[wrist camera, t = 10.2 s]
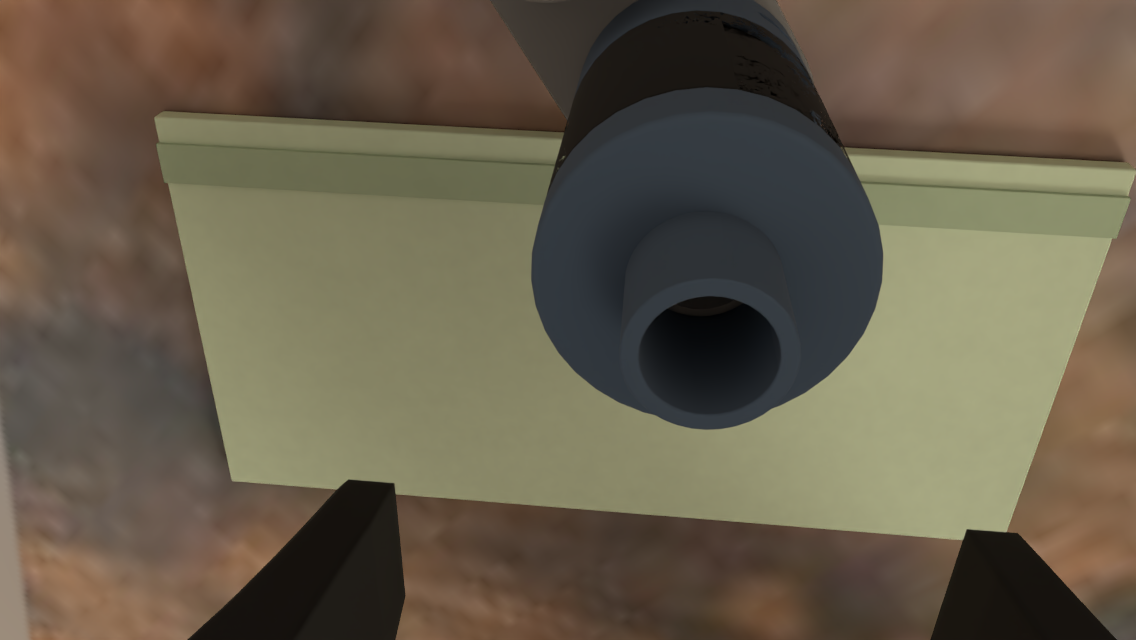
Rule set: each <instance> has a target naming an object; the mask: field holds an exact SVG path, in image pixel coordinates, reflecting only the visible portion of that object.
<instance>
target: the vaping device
mask: <svg viewBox="0 0 1136 640" xmlns="http://www.w3.org/2000/svg"><path fill="white" fill-rule="evenodd" d="M490 1H491V2H492V4H493V5H494V7H495V9H496V10H497V12H498V13H499V15H500V16H501V18H502V19H503V21H504V23H505V24H506V26H507V27H508V29H509V30H510V32H511V33H512V35H513V37H514V38H515V40H516V41H517V43H518V44H519V46H520V47H521V49H522V51H523V52H524V54H525V55H526V57H527V58H528V60H529V62H530V63H531V65H532V66H533V68H534V69H535V71H536V72H537V74H538V76H539V77H540V79H541V80H542V82H543V83H544V85H545V86H546V88H547V90H548V91H549V93H550V94H551V96H552V97H553V99H554V100H555V102H556V104H557V105H558V107H559V108H560V110H561V111H562V113H563V114H564V116H565V118H566V119H567V124H566V128H565V131H564V135H563V138H562V142H561V146H560V149H559V153H558V156H557V160H556V163H555V167H554V170H553V174H552V177H551V181H550V184H549V188H548V191H549V192H547V196H546V199H545V202H544V206H543V209H542V213H541V216H540V220H539V223H538V227H537V232H536V236H535V241H534V245H533V249H532V264H531V282H532V288H533V294H534V300H535V306H536V308H537V311H538V314H539V316H540V319H541V322H542V324H543V327H544V330H545V332H546V333H547V335H548V337H549V338H550V340H551V342H552V343H553V345H554V346H555V348H556V350H557V351H558V353H559V354H560V355H561V356H562V358H563V359H564V360H565V361H566V362H567V363H568V364H569V366H570V367H571V368H572V369H573V370H574V371H575V372H576V373H577V374H578V375H579V376H581V377H582V378H583V379H584V380H585V381H587V382H588V383H589V384H590V385H592V386H593V387H594V388H595V389H597V390H598V391H600V392H602V393H603V394H605V395H607V396H609V397H610V398H612V399H614V400H615V401H617V402H619V403H621V404H624V405H626V406H629V407H631V408H634V409H636V410H639V411H641V412H644V413H648V414H652V415H656V416H658V417H659V418H661V419H663V420H665V421H668V422H670V423H673V424H675V425H678V426H683V427H687V428H691V429H702V430H714V429H725V428H730V427H735V426H738V425H741V424H744V423H747V422H750V421H752V420H754V419H756V418H758V417H760V416H762V415H764V414H765V413H766V412H768V411H769V410H770V409H772V408H775V407H778V406H781V405H783V404H785V403H786V402H788V401H790V400H792V399H794V398H796V397H798V396H800V395H802V394H804V393H806V392H807V391H808V390H810V389H811V388H813V387H814V386H815V385H817V384H818V383H820V382H821V381H822V380H824V379H825V378H826V377H828V376H829V375H830V374H831V373H832V372H833V371H834V370H835V369H836V368H837V367H838V366H839V365H840V364H841V363H842V362H843V361H844V360H845V359H846V358H847V357H848V355H849V354H850V353H851V351H852V350H853V348H854V347H855V346H856V344H857V343H858V341H859V340H860V338H861V337H862V336H863V334H864V332H865V330H866V328H867V326H868V324H869V322H870V319H871V317H872V315H873V313H874V311H875V308H876V304H877V300H878V296H879V292H880V288H881V284H882V275H883V248H882V242H881V235H880V229H879V224H878V222H877V219H876V217H875V214H874V212H873V209H872V206H871V204H870V201H869V199H868V196H867V194H866V192H865V190H864V188H863V186H862V184H861V182H860V180H859V178H858V175H857V173H856V171H855V170H854V167H853V165H852V163H851V161H850V159H849V157H848V155H847V152H846V150H845V148H844V147H843V145H842V143H841V142H840V141H841V140H839V139H840V138H839V139H838V137H839V136H838V134H837V132H836V129H835V127H834V125H833V123H832V121H831V119H829V118H830V117H829V115H828V113H827V111H826V108H825V106H824V104H823V102H822V100H821V98H820V96H819V94H817V93H816V92H817V90H815V88H816V87H815V86H814V82H813V76H812V74H811V71H810V68H809V65H808V63H807V60H806V58H805V56H804V54H803V52H802V50H801V48H800V46H799V44H798V42H797V40H796V38H795V36H794V34H793V33H792V31H791V29H790V27H789V25H788V23H787V21H786V19H785V17H784V15H783V13H782V11H781V9H780V7H779V5H778V3H777V1H776V0H490ZM820 100H821V101H820ZM820 102H821V103H820ZM824 110H825V111H824ZM821 112H822V113H821ZM825 115H826V116H825ZM821 120H823V123H822V122H821ZM568 122H569V123H568ZM821 123H822V124H823V125H822V124H821ZM825 123H826V124H825ZM831 124H832V125H831ZM567 125H568V126H567ZM821 125H822V126H821ZM829 127H830V128H829ZM824 128H825V129H824ZM827 132H828V134H827ZM830 132H831V133H830ZM829 134H831V135H830V136H829ZM831 136H832V137H831ZM837 136H838V137H837ZM839 144H840V145H839ZM841 145H842V146H841ZM840 146H841V147H842V148H841V147H840ZM564 148H565V149H564ZM842 150H844V151H845V152H844V151H842ZM845 154H846V156H847V157H846V156H845ZM563 156H565V157H563ZM562 158H563V159H564V160H563V159H562ZM557 168H558V169H557Z"/></svg>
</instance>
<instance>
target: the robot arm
mask: <svg viewBox="0 0 1136 640" xmlns="http://www.w3.org/2000/svg"><path fill="white" fill-rule="evenodd" d="M404 599H405V587H404V577H403V567H402V556H401V546H400V536H399V525H398V515H397V505H396V494H395V484H394V483H387V482H374V481H362V480H349V479H348V480H347V481H346V482H345V483H343V484H342V485H341V486H340V487H339V488H338V489H337V490H336V491H335V492H334V493H333V495H332V496H331V497H330V498H329V499H328V500H327V501H326V502H325V503H324V504H323V505H322V507H321V508H320V509H319V510H318V511H317V512H316V513H315V514H314V515H313V516H312V517H311V519H310V520H309V521H308V522H307V523H306V524H305V525H304V526H303V527H302V528H301V529H300V530H299V531H298V532H297V534H296V535H295V536H294V537H293V538H292V539H291V540H290V541H289V542H288V543H287V544H286V545H285V546H284V547H283V548H282V549H281V550H280V551H279V552H278V553H277V554H276V556H275V557H274V558H273V559H272V560H271V561H270V562H269V563H268V564H267V565H266V566H265V567H264V568H263V569H262V570H261V571H260V572H259V573H258V574H257V575H256V576H255V577H254V578H253V579H252V580H251V581H250V582H249V583H248V584H247V585H246V586H245V587H244V588H243V589H242V590H241V591H240V592H239V593H238V594H237V595H235V596H234V597H233V598H232V599H231V600H230V601H229V602H228V603H227V604H226V605H225V606H224V607H223V608H222V609H221V610H220V611H218V612H217V613H216V614H215V615H214V616H213V617H212V618H211V619H210V620H209V621H208V622H206V623H205V624H204V625H203V626H202V627H201V628H200V629H199V630H198V631H197V632H195V633H194V634H193V635H192V636H191V637H190V638H189V639H188V640H395V638H396V634H397V630H398V626H399V621H400V617H401V612H402V608H403V604H404ZM931 640H1117V639H1116V638H1115V637H1114V636H1113V635H1112V634H1111V633H1110V632H1109V631H1108V630H1107V629H1106V628H1105V627H1104V626H1103V625H1102V624H1101V622H1100V621H1099V620H1098V619H1097V618H1096V617H1095V616H1094V615H1093V614H1092V613H1091V612H1090V611H1089V610H1088V608H1087V607H1086V606H1085V605H1084V604H1083V603H1082V602H1081V601H1080V600H1079V599H1078V598H1077V597H1076V596H1075V594H1074V593H1073V592H1072V591H1071V590H1070V589H1069V588H1068V587H1067V586H1066V585H1065V584H1064V582H1063V581H1062V580H1061V579H1060V578H1059V577H1058V576H1057V575H1056V574H1055V573H1054V572H1053V570H1052V569H1051V568H1050V567H1049V566H1048V565H1047V564H1046V563H1045V562H1044V561H1043V560H1042V558H1041V557H1040V556H1039V555H1038V554H1037V553H1036V552H1035V551H1034V550H1033V549H1032V548H1031V547H1030V546H1029V545H1028V544H1027V542H1026V541H1025V540H1024V539H1023V538H1022V537H1021V536H1020V535H1019V534H1018V533H1009V532H996V531H984V530H971V529H967V530H966V533H965V536H964V539H963V542H962V545H961V548H960V551H959V554H958V557H957V560H956V563H955V566H954V570H953V573H952V576H951V579H950V582H949V585H948V588H947V591H946V594H945V597H944V600H943V603H942V606H941V609H940V612H939V615H938V618H937V621H936V624H935V628H934V631H933V634H932V637H931Z"/></svg>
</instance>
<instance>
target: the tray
mask: <svg viewBox="0 0 1136 640" xmlns="http://www.w3.org/2000/svg"><path fill="white" fill-rule="evenodd" d="M154 120H155V125H156V130H157V134H158V139H159V142H158V143H157V144H156V147H157V151H158V156H159V161H160V165H161V170H162V175H163V179H164V183H168V186H169V190H170V195H171V200H172V204H173V209H174V214H175V218H176V223H177V228H178V232H179V237H180V242H181V246H182V251H183V256H184V260H185V265H186V270H187V274H188V279H189V284H190V288H191V293H192V298H193V302H194V307H195V312H196V316H197V321H198V326H199V330H200V335H201V340H202V344H203V349H204V354H205V358H206V363H207V368H208V372H209V377H210V382H211V386H212V391H213V396H214V400H215V405H216V410H217V414H218V419H219V424H220V428H221V433H222V438H223V442H224V447H225V452H226V456H227V461H228V466H229V470H230V475H231V480H232V481H239V482H251V483H263V484H276V485H288V486H301V487H313V488H325V489H338V488H339V487H340V486H341V485H342V484H343V483H345V482H346V481H347V480H348V479H349V480H362V481H374V482H387V483H394V484H395V494H399V495H412V496H424V497H436V498H449V499H461V500H473V501H486V502H498V503H511V504H523V505H535V506H548V507H560V508H572V509H585V510H597V511H609V512H622V513H634V514H646V515H659V516H671V517H683V518H696V519H708V520H721V521H733V522H745V523H758V524H770V525H782V526H795V527H807V528H819V529H832V530H844V531H856V532H869V533H881V534H894V535H906V536H918V537H931V538H943V539H955V540H963V539H964V536H965V533H966V530H967V529H971V530H984V531H996V532H1007V529H1008V526H1009V523H1010V521H1011V518H1012V515H1013V512H1014V509H1015V507H1016V504H1017V501H1018V498H1019V496H1020V493H1021V490H1022V487H1023V485H1024V482H1025V479H1026V476H1027V473H1028V471H1029V468H1030V465H1031V462H1032V460H1033V457H1034V454H1035V451H1036V448H1037V446H1038V443H1039V440H1040V437H1041V435H1042V432H1043V429H1044V426H1045V424H1046V421H1047V418H1048V415H1049V412H1050V410H1051V407H1052V404H1053V401H1054V399H1055V396H1056V393H1057V390H1058V388H1059V385H1060V382H1061V379H1062V376H1063V374H1064V371H1065V368H1066V365H1067V363H1068V360H1069V357H1070V354H1071V352H1072V349H1073V346H1074V343H1075V340H1076V338H1077V335H1078V332H1079V329H1080V327H1081V324H1082V321H1083V318H1084V316H1085V313H1086V310H1087V307H1088V304H1089V302H1090V299H1091V296H1092V293H1093V291H1094V288H1095V285H1096V282H1097V280H1098V277H1099V274H1100V271H1101V268H1102V266H1103V263H1104V260H1105V257H1106V255H1107V252H1108V249H1109V246H1110V243H1111V241H1112V238H1113V239H1116V238H1117V235H1118V233H1119V230H1120V227H1121V224H1122V222H1123V219H1124V216H1125V213H1126V211H1127V208H1128V205H1129V202H1130V200H1131V198H1130V197H1129V196H1128V194H1129V191H1130V188H1131V185H1132V183H1133V180H1134V177H1135V174H1136V169H1135V168H1134V167H1132V166H1131V165H1130V164H1129V163H1127V162H1109V161H1090V160H1071V159H1052V158H1033V157H1015V156H996V155H977V154H958V153H940V152H921V151H902V150H883V149H864V148H846V147H844V148H845V150H846V152H847V155H848V157H849V159H850V161H851V163H852V165H853V167H854V170H855V171H856V173H857V175H858V178H859V180H860V182H861V184H862V186H863V188H864V190H865V192H866V194H867V196H868V199H869V201H870V204H871V206H872V209H873V212H874V214H875V217H876V219H877V222H878V224H879V229H880V235H881V242H882V248H883V275H882V284H881V288H880V292H879V296H878V300H877V304H876V308H875V311H874V313H873V315H872V317H871V319H870V322H869V324H868V326H867V328H866V330H865V332H864V334H863V336H862V337H861V338H860V340H859V341H858V343H857V344H856V346H855V347H854V348H853V350H852V351H851V353H850V354H849V355H848V357H847V358H846V359H845V360H844V361H843V362H842V363H841V364H840V365H839V366H838V367H837V368H836V369H835V370H834V371H833V372H832V373H831V374H830V375H829V376H828V377H826V378H825V379H824V380H822V381H821V382H820V383H818V384H817V385H815V386H814V387H813V388H811V389H810V390H808V391H807V392H806V393H804V394H802V395H800V396H798V397H796V398H794V399H792V400H790V401H788V402H786V403H785V404H783V405H781V406H778V407H775V408H772V409H770V410H769V411H768V412H766V413H765V414H764V415H762V416H760V417H758V418H756V419H754V420H752V421H750V422H747V423H744V424H741V425H738V426H735V427H730V428H725V429H714V430H702V429H691V428H687V427H683V426H678V425H675V424H673V423H670V422H668V421H665V420H663V419H661V418H659V417H658V416H656V415H652V414H648V413H644V412H641V411H639V410H636V409H634V408H631V407H629V406H626V405H624V404H621V403H619V402H617V401H615V400H614V399H612V398H610V397H609V396H607V395H605V394H603V393H602V392H600V391H598V390H597V389H595V388H594V387H593V386H592V385H590V384H589V383H588V382H587V381H585V380H584V379H583V378H582V377H581V376H579V375H578V374H577V373H576V372H575V371H574V370H573V369H572V368H571V367H570V366H569V364H568V363H567V362H566V361H565V360H564V359H563V358H562V356H561V355H560V354H559V353H558V351H557V350H556V348H555V346H554V345H553V343H552V342H551V340H550V338H549V337H548V335H547V333H546V332H545V330H544V327H543V324H542V322H541V319H540V316H539V314H538V311H537V308H536V306H535V300H534V294H533V288H532V282H531V264H532V249H533V245H534V241H535V236H536V232H537V227H538V223H539V220H540V216H541V213H542V209H543V206H544V202H545V199H546V196H547V192H549V191H548V188H549V184H550V181H551V177H552V174H553V170H554V167H555V163H556V160H557V156H558V153H559V149H560V146H561V142H562V138H563V135H564V132H545V131H526V130H508V129H489V128H470V127H451V126H433V125H414V124H395V123H376V122H357V121H339V120H320V119H301V118H282V117H264V116H245V115H226V114H207V113H188V112H170V111H163V112H161V113H160V114H158V115H157V116H155V118H154ZM841 148H842V147H841ZM564 149H565V148H564ZM842 151H844V150H842ZM844 152H845V151H844ZM845 156H846V154H845ZM563 157H565V156H563ZM846 157H847V156H846ZM562 159H563V158H562ZM563 160H564V159H563ZM557 169H558V168H557Z"/></svg>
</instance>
